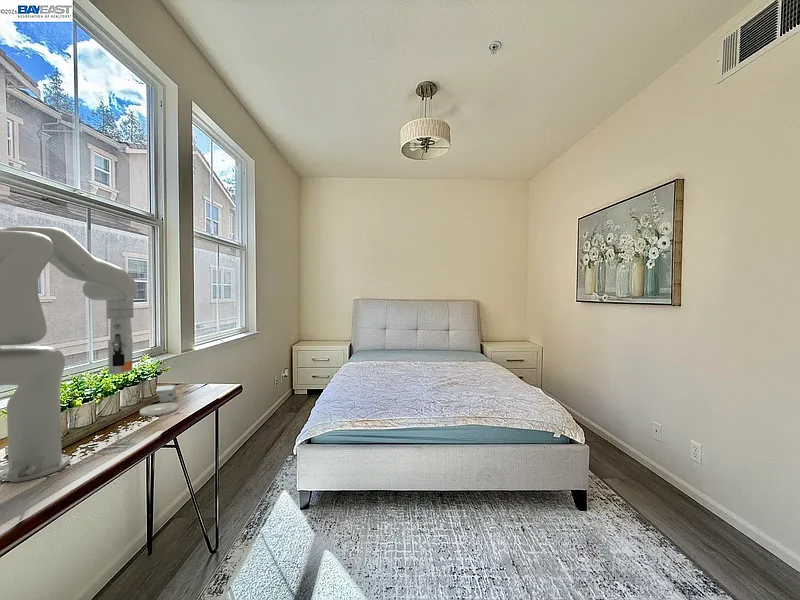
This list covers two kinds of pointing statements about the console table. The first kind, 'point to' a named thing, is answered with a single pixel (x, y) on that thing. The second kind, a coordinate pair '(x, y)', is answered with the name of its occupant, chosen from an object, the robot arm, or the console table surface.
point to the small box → (166, 393)
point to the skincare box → (127, 358)
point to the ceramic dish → (158, 409)
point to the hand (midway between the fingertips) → (120, 363)
